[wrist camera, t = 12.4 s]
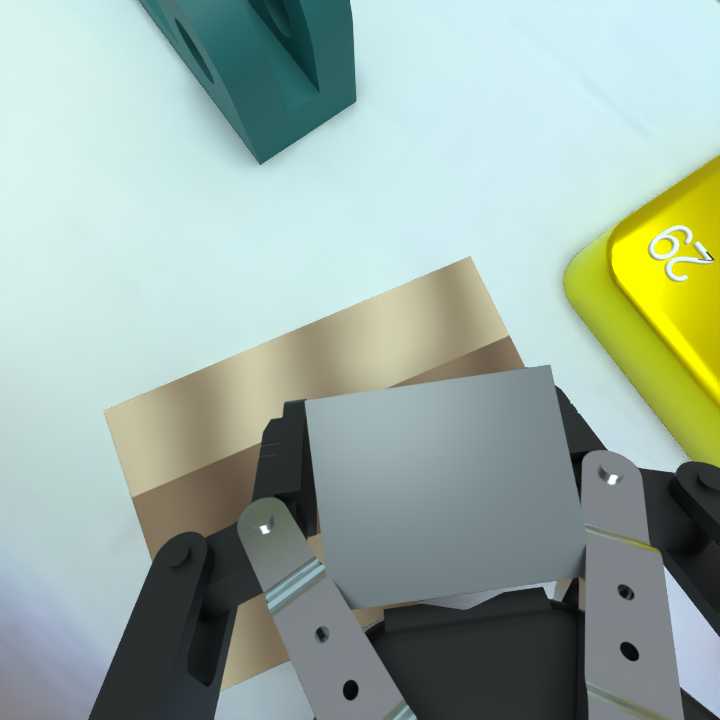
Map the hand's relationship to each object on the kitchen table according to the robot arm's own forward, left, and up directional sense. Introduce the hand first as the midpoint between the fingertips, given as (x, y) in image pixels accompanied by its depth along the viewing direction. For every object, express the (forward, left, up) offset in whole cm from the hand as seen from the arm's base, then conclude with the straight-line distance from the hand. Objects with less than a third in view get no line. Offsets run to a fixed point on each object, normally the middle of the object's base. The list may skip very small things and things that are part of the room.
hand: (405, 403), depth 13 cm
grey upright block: (-1, -2, -6) cm, 6 cm away
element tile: (+19, -3, -7) cm, 21 cm away
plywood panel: (-3, -2, -7) cm, 8 cm away
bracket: (0, +25, -7) cm, 26 cm away
